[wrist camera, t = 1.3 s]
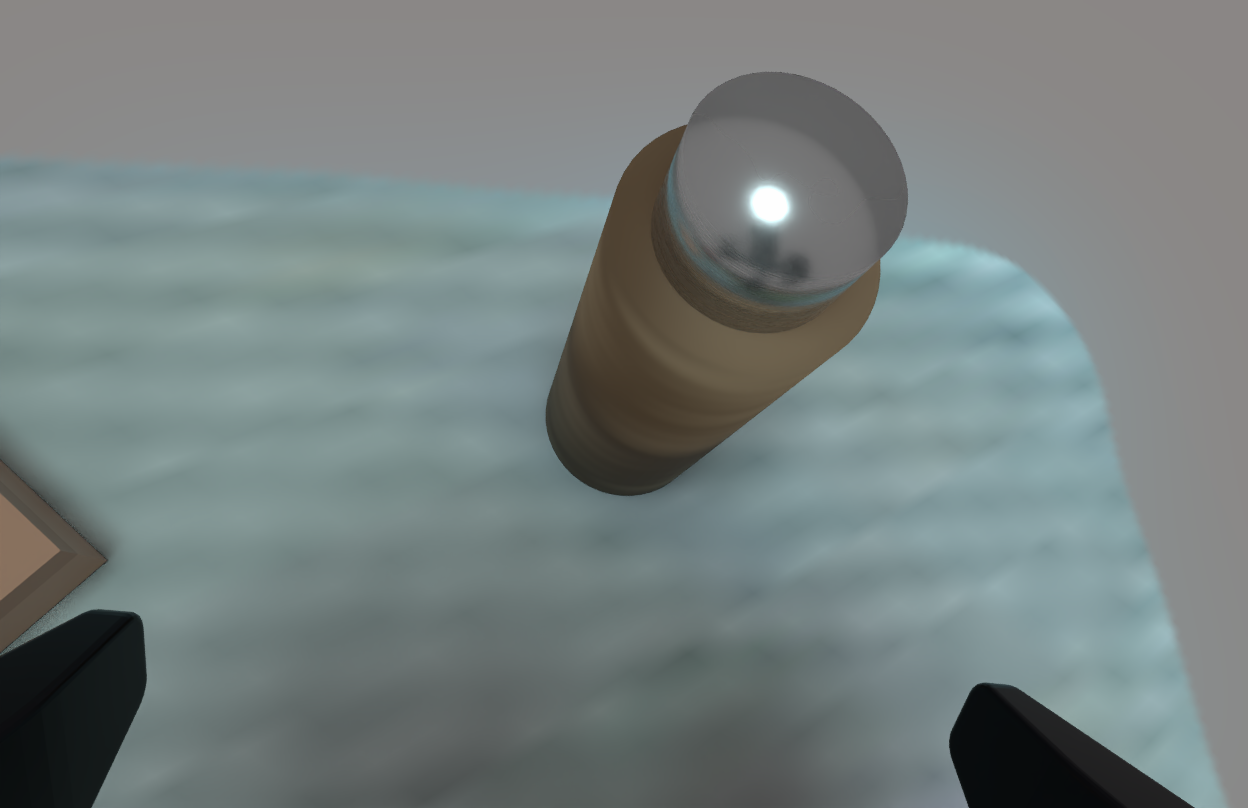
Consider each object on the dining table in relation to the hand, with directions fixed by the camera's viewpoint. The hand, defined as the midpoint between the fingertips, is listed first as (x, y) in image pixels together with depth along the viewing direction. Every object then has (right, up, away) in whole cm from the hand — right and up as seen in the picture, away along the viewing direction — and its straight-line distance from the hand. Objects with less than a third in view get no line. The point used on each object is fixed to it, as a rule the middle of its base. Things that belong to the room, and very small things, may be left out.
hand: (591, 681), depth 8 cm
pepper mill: (0, +3, +15) cm, 15 cm away
